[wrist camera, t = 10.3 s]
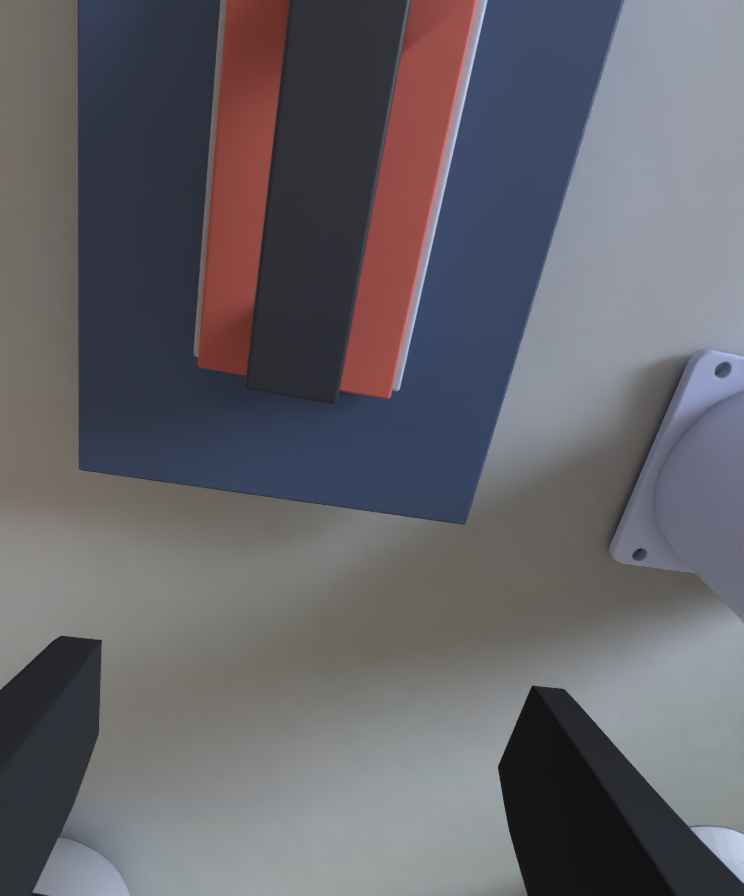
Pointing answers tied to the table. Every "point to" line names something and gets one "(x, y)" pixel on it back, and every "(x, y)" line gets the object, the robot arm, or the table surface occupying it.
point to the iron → (327, 186)
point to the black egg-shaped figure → (78, 873)
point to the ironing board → (442, 298)
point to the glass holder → (724, 846)
